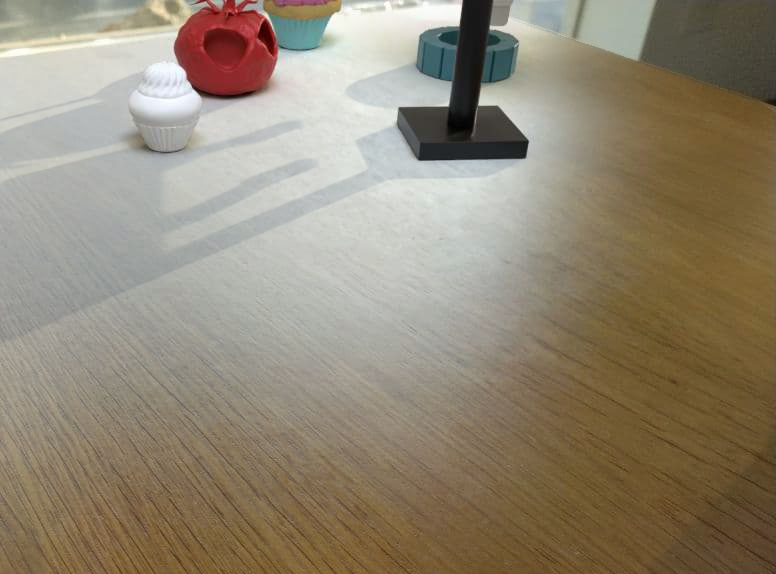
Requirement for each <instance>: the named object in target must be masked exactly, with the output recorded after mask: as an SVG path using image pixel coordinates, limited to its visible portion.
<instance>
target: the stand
mask: <svg viewBox="0 0 776 574" xmlns="http://www.w3.org/2000/svg"><path fill="white" fill-rule="evenodd" d="M493 2H494V0H462V2H461V11H460V16H459V17H460V19H459V25H458V26H459V32H458V40H457V47H456V55H455V63H454V71H453V78H452V81H451V85H450V95H449V102H448V105H442V106H440V105H439V106H438V105H437V106H435V105H434V106H398V108H397V116H396V117H397V118H396V124H397V126H398V128H399V129H400V131H401V133H402V134H403V136H404V138H405V140H406V141H407V143H408V145H409V146H410V149H411V150H412V151H413V153H414V155H415V157H416V159H417V160H418V161H439V160H441V161H443V160H444V161H445V160H486V159H487V160H491V159H493V160H494V159H526V158H527V154H528V151H529V150H528V149H529V144H530V140H529V138H527V136H526V135H525V134H524V133H523V132H522V131H521V130H520V129H519V127H518V126H517V125H516V124H515V123H514V122H513V121H512V119H511V118H510V117H509V116H508V115H507V114H506V113H505V112H504V111H503V109H502V108H501V107H500V106H499V105H497V104H496V105H479V103H480V97H481V91H482V83H483V82H482V77H483V70H484V63H485V56H486V49H487V43H488V36H489V29H491V28H490V27H491V25H490V22H491V15H492V9H493Z"/></svg>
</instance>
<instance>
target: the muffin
mask: <svg viewBox="0 0 776 574" xmlns="http://www.w3.org/2000/svg"><path fill="white" fill-rule="evenodd" d="M192 86H193V85H192V84H191V83H190V82H189V81H188V80H187V79H186V72H185V71H184V69H183V68H182V67H180V66H179V64H178V63H175V62H171V61H170V62H169V61H168V62H167V61H165V60H163V61H160V62H155V63H151V64H150V65H149V66H147V67H146V68H145V69H144V71H143V74H142V80H141V82H140V83H139V85H138V86H137V89H135V90H134V91H133V92H132V93H131V94H130V96H129V98H128V102H127V106H128V111H129V113H130V115H131V116H132V121H133V123H134V124H135V126H136V128H137V130H138V132H139V133H140V135H141V137H142V138H143V140H144V142H145V144H146V146H147V148H148V149H150V150H153V151H155V152H160V153H162V152H164V153H166V152H167V153H170V152H172V153H173V152H176V151H177V152H178V151H181V150H183V149H184V148H186V147H187V145H188V143H189V141H190V139H191V137H192V135H193V133H194V130H195V128H196V126H197V125H198V122H199V121H200V115H201V113H202V112H201V111H202V109H203V99H202V97H201V96H200V94H199V93H198V92H197V91H196V90H195V89H194V88H193V87H192Z"/></svg>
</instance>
